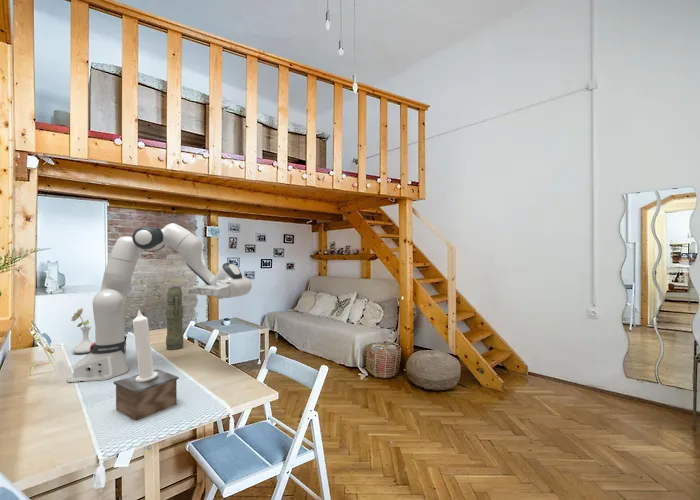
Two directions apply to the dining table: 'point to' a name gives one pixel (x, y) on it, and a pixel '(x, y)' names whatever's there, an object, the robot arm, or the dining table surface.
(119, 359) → the robot arm
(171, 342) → the thermos
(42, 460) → the dining table surface
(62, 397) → the dining table surface
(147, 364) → the candle
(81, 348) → the flower in vase
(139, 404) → the walnut pedestal
